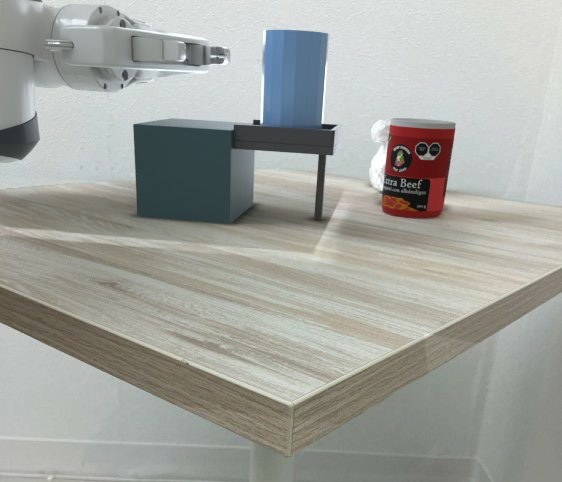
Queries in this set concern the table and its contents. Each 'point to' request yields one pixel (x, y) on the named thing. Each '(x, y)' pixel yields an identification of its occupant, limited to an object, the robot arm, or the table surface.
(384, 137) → the bust
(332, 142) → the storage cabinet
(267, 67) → the cylindrical container
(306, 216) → the table surface
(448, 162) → the canned food
